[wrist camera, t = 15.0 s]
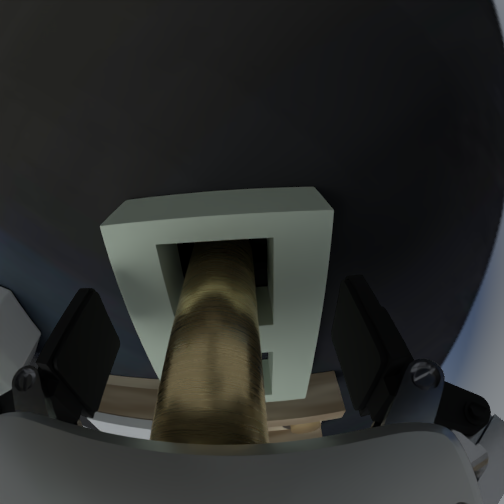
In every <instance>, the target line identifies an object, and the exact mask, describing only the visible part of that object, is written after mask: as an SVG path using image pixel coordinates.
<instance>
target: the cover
mask: <svg viewBox="0 0 504 504" xmlns="http://www.w3.org/2000/svg"><path fill="white" fill-rule="evenodd" d="M87 419H88V420H89V421H91V422H92V423H93V424H94V425H95V426H96V427H97V428H98V429H99V430H100V431H102V432H106V433H111V434H116V435H122V436H127V437H133V438H140V439H147V440H150V434H151V428H152V422H153V421H152V420H144V419H136V418H129V417H123V416H117V415H111V414H106V413H100V412H95V414H94V417H93V418H89V417H87Z"/></svg>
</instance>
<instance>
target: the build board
mask: <svg viewBox="0 0 504 504" xmlns="http://www.w3.org/2000/svg"><path fill="white" fill-rule="evenodd" d="M333 216H334V210H333V208H332V207H331V206H330V205H329V204H328V202H327V201H326V200H325V199H324V198H323V196H322V195H321V194H320V193H319V192H318V191H317V190H316V188H315V187H282V188H257V189H239V190H223V191H209V192H197V193H186V194H175V195H166V196H156V197H148V198H139V199H131V200H126V201H125V202H124V203H122V204H121V205H120V206H119V207H118V208H117V209H116V210H115V211H114V212H113V213H112V214H111V215H110V216H109V217H108V218H107V219H106V220H105V221H104V222H103V223H102V224H101V225H100V229H101V232H102V236H103V239H104V243H105V246H106V249H107V253H108V256H109V259H110V262H111V265H112V268H113V271H114V274H115V277H116V280H117V283H118V286H119V288H120V291H121V294H122V296H123V299H124V302H125V304H126V307H127V309H128V312H129V314H130V317H131V319H132V322H133V324H134V327H135V329H136V331H137V334H138V336H139V338H140V340H141V343H142V345H143V347H144V349H145V351H146V353H147V356H148V358H149V360H150V362H151V364H152V366H153V368H154V370H155V372H156V374H157V376H158V378H159V380H161V375H162V370H163V365H164V361H165V356H166V352H167V347H168V343H169V338H170V334H171V330H172V326H173V322H174V318H175V313H176V309H177V306H178V302H179V298H180V294H181V290H182V286H183V283H184V276H183V271H182V267H181V262H180V257H179V252H178V246H177V243H188V242H203V241H220V240H236V239H254V238H267V267H268V286H264V287H256V299H257V310H258V321H259V333H260V344H261V353H263V352H268V359H265V360H262V367H263V378H264V389H265V401H266V402H275V401H286V400H295V399H304V398H305V397H306V393H307V389H308V384H309V379H310V375H311V370H312V365H313V360H314V355H315V349H316V344H317V338H318V333H319V327H320V321H321V315H322V308H323V302H324V295H325V288H326V280H327V273H328V265H329V256H330V247H331V238H332V227H333Z"/></svg>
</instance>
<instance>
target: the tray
mask: <svg viewBox="0 0 504 504" xmlns="http://www.w3.org/2000/svg"><path fill="white" fill-rule="evenodd" d="M159 384H160V380H159V379H146V378H134V377H124V376H115V375H109V378H108V381H107V384H106V387H105V390H104V393H103V396H102V399H101V403H100V406H99V409H98V411H97V412H100V413H106V414H111V415H117V416H123V417H129V418H136V419H144V420H152V421H153V416H154V411H155V405H156V400H157V395H158V389H159ZM266 412H267V423H268V435H269V443H278V442H289V441H297V440H305V439H312V438H319V437H322V432H321V422H322V421H325V420H330V419H336V418H341V417H342V416H343V414H344V412H345V407H344V403H343V400H342V396H341V393H340V389H339V386H338V382H337V379H336V375H335V372H334V371H330V372H323V373H315V374H311V375H310V379H309V384H308V389H307V393H306V397H305V398H304V399H295V400H286V401H275V402H266Z"/></svg>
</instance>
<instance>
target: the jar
mask: <svg viewBox="0 0 504 504" xmlns="http://www.w3.org/2000/svg"><path fill="white" fill-rule="evenodd" d="M40 336H41V332H40V330H39V329H38V328H37V327H36V325H35V324H34V323H33V322H32V320H31V319H30V318H29V316H28V315H27V313H26V312H25V311H24V309H23V308H22V306H21V305H20V304H19V302H18V301H17V299H16V298H15V296H14V295H13V293H12V292H11V291H10V290H8V289H6V288H3V287H1V286H0V396H1V395H2V394H4V393H6V392H8V391H9V390H11V389H12V379H13V377H14V375H15V373H16V372H17V371H18V370H19V369H20V368H22V367H24V366H27V365H29V364H30V362H31V360H32V358H33V356H34V354H35V351H36V348H37V345H38V341H39V338H40Z"/></svg>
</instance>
